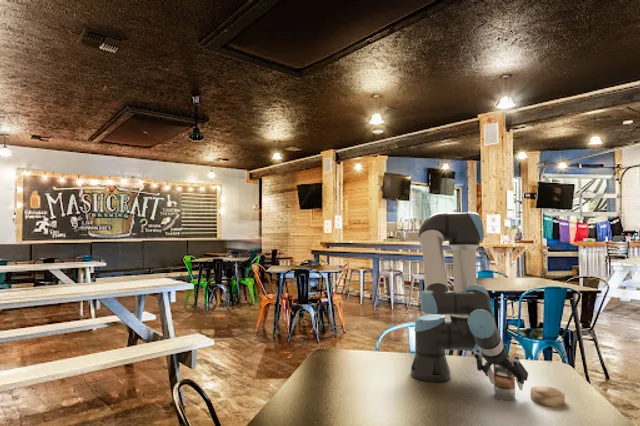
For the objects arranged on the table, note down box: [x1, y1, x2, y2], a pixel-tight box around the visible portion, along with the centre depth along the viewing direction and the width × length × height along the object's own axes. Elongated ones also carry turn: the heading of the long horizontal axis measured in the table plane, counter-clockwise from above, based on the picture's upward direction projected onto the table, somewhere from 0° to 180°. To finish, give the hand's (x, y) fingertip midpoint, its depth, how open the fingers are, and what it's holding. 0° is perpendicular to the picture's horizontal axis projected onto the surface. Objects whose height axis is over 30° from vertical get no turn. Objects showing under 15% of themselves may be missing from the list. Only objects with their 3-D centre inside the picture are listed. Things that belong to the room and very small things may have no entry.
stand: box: [530, 385, 566, 408], centre depth 139 cm, size 10×10×3 cm
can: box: [493, 364, 516, 402], centre depth 142 cm, size 7×7×12 cm
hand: (507, 383), depth 145 cm, fingers open, 9 cm apart
